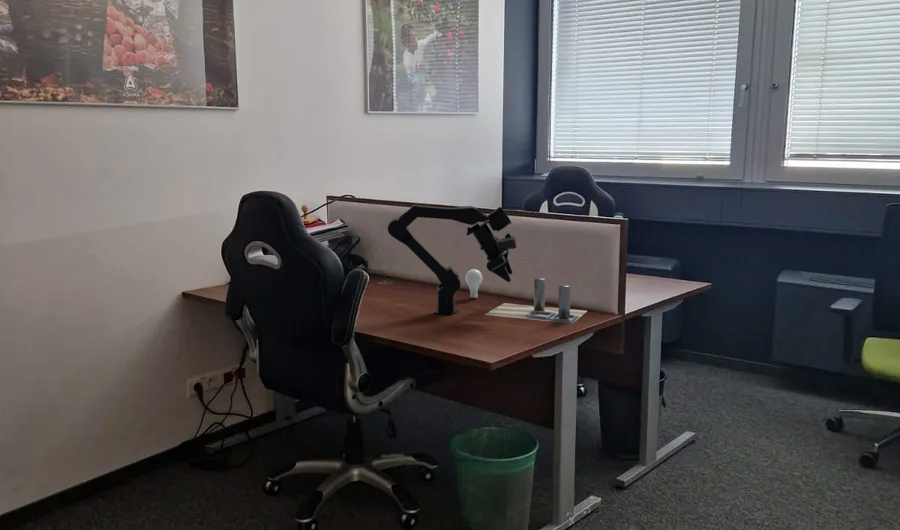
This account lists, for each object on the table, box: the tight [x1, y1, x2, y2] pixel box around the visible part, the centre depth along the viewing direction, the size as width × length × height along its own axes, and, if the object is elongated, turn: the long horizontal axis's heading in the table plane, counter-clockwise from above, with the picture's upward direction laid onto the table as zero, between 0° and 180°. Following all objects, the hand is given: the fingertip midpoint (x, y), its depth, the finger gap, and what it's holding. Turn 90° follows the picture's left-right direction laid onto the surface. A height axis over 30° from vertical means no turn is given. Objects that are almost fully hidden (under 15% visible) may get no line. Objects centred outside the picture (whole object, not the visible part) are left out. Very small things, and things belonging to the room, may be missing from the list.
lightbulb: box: [464, 268, 483, 299], centre depth 278 cm, size 6×6×11 cm
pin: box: [533, 277, 546, 311], centre depth 252 cm, size 4×4×11 cm
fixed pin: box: [558, 284, 571, 320], centre depth 241 cm, size 4×4×11 cm
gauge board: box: [484, 302, 588, 324], centre depth 251 cm, size 18×30×2 cm, turn 65°
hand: (510, 277), depth 255 cm, fingers open, 9 cm apart
